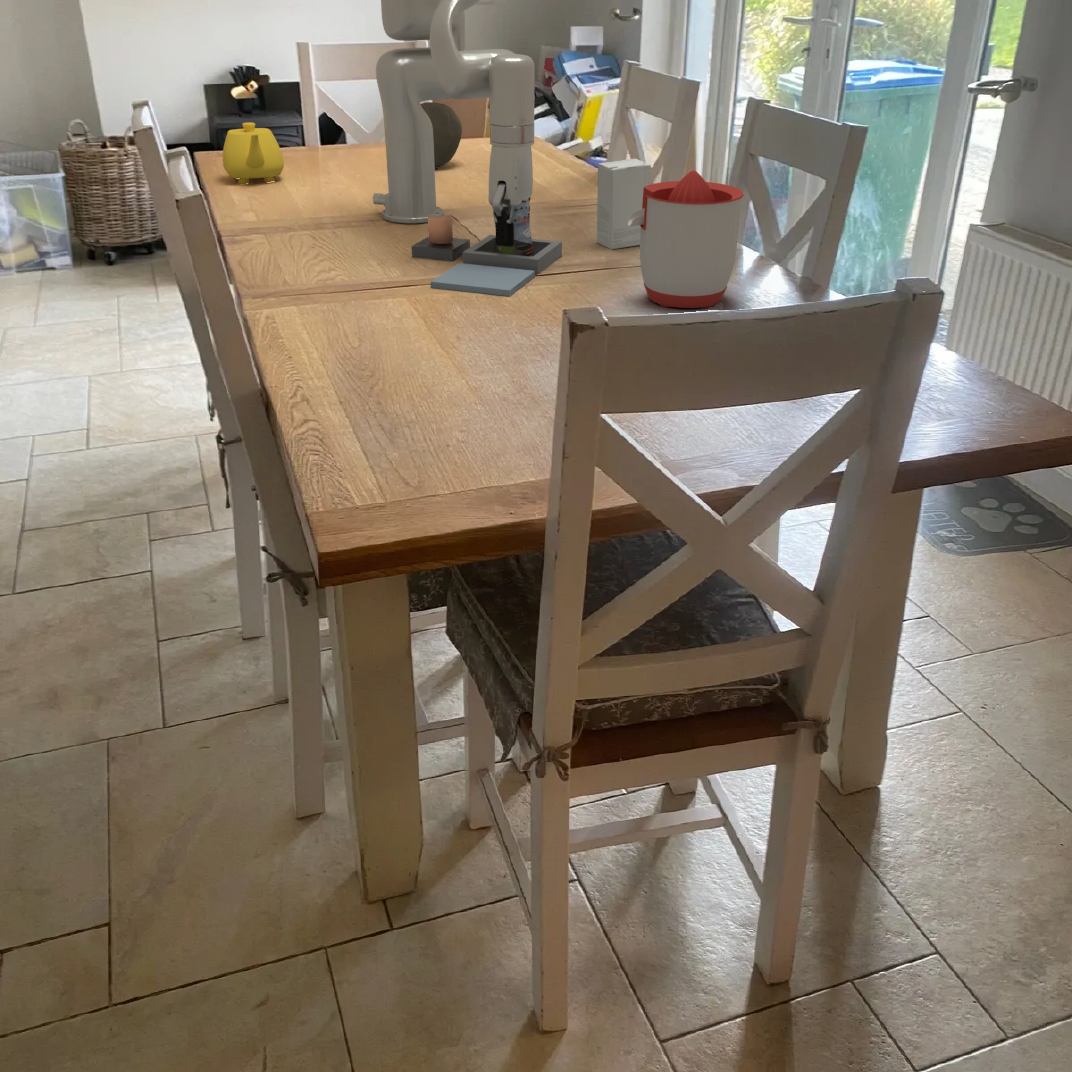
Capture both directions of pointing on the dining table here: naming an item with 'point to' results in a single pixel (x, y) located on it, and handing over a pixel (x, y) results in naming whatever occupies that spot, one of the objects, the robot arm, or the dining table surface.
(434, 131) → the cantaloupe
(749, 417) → the dining table surface
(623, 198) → the skincare box
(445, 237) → the button
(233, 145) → the teapot
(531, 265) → the frame
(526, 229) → the beverage can
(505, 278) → the mat
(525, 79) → the robot arm
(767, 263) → the dining table surface
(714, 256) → the citrus juicer
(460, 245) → the button base
